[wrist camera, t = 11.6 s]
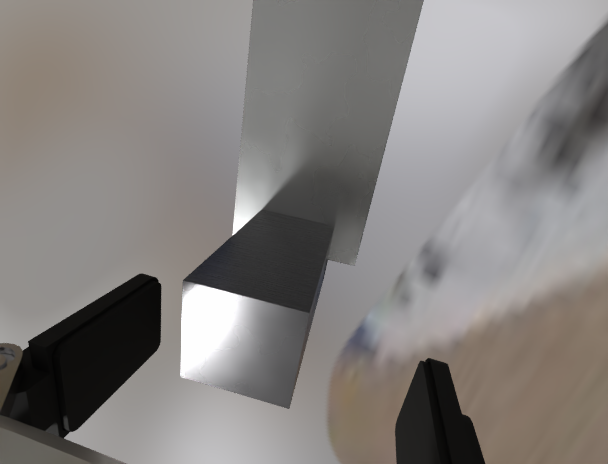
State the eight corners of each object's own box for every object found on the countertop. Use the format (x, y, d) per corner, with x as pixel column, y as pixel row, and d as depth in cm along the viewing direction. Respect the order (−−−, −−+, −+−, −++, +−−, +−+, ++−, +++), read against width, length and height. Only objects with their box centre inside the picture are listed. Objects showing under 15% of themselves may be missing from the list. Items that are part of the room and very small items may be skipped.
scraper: (347, 286, 19) (332, 421, 10) (237, 259, 20) (142, 365, 11) (433, -47, 13) (556, -346, 4) (269, -67, 14) (115, -352, 5)
